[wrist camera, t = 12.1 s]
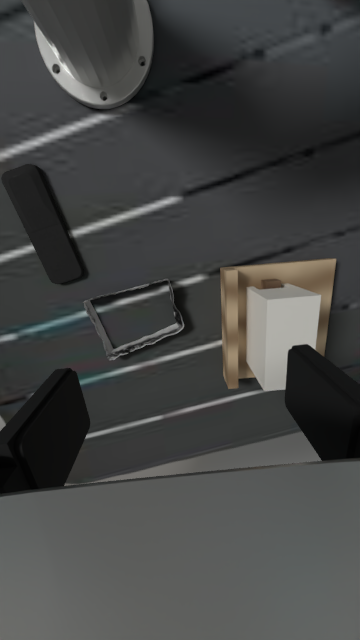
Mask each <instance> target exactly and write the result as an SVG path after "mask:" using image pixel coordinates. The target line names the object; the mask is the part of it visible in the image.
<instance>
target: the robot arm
mask: <svg viewBox="0 0 360 640" xmlns="http://www.w3.org/2000/svg"><path fill="white" fill-rule="evenodd" d="M21 1H22V3H23V4H24V6H25V7H26V9H27V11H28V12H29V14H30V15H31V17H32V18H33V20H34V27H35V34H36V40H37V43H38V47H39V50H40V53H41V56H42V58H43V60H44V62H45V65H46V67H47V68H48V70H49V71H50V73H51V75H52V76H53V78H54V79H55V80H56V82H57V83H58V84H59V86H60V87H61V88H62V89H63V90H64V91H65V92H66V93H67V94H68V95H69V96H70V97H72V98H73V99H75V100H76V101H78V102H79V103H81V104H83V105H86V106H88V107H92V108H97V109H111V108H114V107H118V106H120V105H122V104H124V103H126V102H128V101H129V100H130V99H131V98H132V97H134V96H135V95H136V94H137V93H138V91H139V90H140V89H141V87H142V86H143V84H144V82H145V80H146V78H147V76H148V74H149V71H150V67H151V64H152V59H153V51H154V32H153V24H152V17H151V13H150V9H149V4H148V2H147V0H21ZM141 65H145V66H141ZM59 72H60V73H59ZM58 73H59V74H58ZM105 98H107V100H106V101H104V99H105ZM285 404H286V407H287V409H288V411H289V412H290V414H291V415H292V417H293V418H294V420H295V421H296V423H297V424H298V426H299V427H300V429H301V430H302V432H303V433H304V435H305V436H306V437H307V439H308V440H309V442H310V443H311V445H312V446H313V448H314V449H315V451H316V452H317V454H318V455H319V457H320V458H321V460H322V461H314V462H303V463H292V464H281V465H270V466H260V467H248V468H239V469H228V470H217V471H207V472H196V473H186V474H176V475H167V476H156V477H147V478H136V479H127V480H117V481H108V482H98V483H89V484H79V485H70V486H64V484H65V482H66V480H67V478H68V475H69V473H70V471H71V469H72V466H73V464H74V462H75V460H76V457H77V455H78V453H79V450H80V448H81V446H82V444H83V441H84V439H85V437H86V435H87V432H88V430H89V427H90V418H89V415H88V411H87V408H86V404H85V401H84V397H83V394H82V390H81V387H80V383H79V380H78V376H77V373H76V372H75V371H72V369H71V368H66V369H57V370H55V371H54V372H53V373H52V374H51V375H50V376H49V378H48V379H47V380H46V381H45V382H44V383H43V384H42V385H41V386H40V388H39V389H38V390H37V391H36V392H35V393H34V394H33V395H32V397H31V398H30V399H29V400H28V401H27V402H26V403H25V404H24V405H23V407H22V408H21V409H20V410H19V411H18V412H17V413H16V414H15V416H14V417H13V418H12V419H11V420H10V421H9V422H8V423H7V424H6V426H5V427H4V428H3V429H2V430H1V431H0V640H360V385H359V384H358V383H357V382H356V381H354V380H353V379H352V378H350V377H349V376H348V375H347V374H345V373H344V372H343V371H342V370H340V369H339V368H338V367H336V366H335V365H334V364H333V363H331V362H330V361H329V360H327V359H326V358H325V357H324V356H322V355H321V354H320V353H319V352H317V351H316V350H315V349H313V348H312V347H311V346H310V345H308V344H303V345H293V346H292V349H289V350H288V358H287V374H286V390H285Z"/></svg>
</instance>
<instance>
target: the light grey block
mask: <svg viewBox="0 0 360 640" xmlns="http://www.w3.org/2000/svg"><path fill="white" fill-rule="evenodd" d="M320 301H321V295H320V294H317V293H314V292H311V291H308V290H305V289H303V288H300V287H297V286H294V285H291V284H288V283H286V284H281V288H273V289H262V290H259V289H257V288H255V287H253V286H252V287H246V362H247V363H248V365H249V367H250V368H251V370H252V372H253V373H254V375H255V377H256V378H257V380H258V382H259V383H260V385H261V386H262V388H263V390H264V391H273V390H284V389H286V374H287V358H288V350H289V349H292V346H293V345H303V344H308V345H310V346H311V347H312V348H313V349H315V348H316V339H317V329H318V320H319V311H320Z"/></svg>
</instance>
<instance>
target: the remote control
mask: <svg viewBox="0 0 360 640" xmlns="http://www.w3.org/2000/svg"><path fill="white" fill-rule="evenodd" d="M2 183H3V185H4V187H5V189H6V191H7V193H8V195H9V197H10V199H11V201H12V203H13V205H14V207H15V209H16V211H17V213H18V215H19V217H20V219H21V221H22V223H23V226H24V228H25V230H26V232H27V234H28V236H29V238H30V240H31V242H32V244H33V246H34V248H35V250H36V252H37V254H38V256H39V258H40V260H41V262H42V264H43V266H44V268H45V271H46V273H47V275H48V277H49V279H50V280H51V282H52V283H55V284H62V283H66V282H69V281H72V280H75V279H78V278H81V277H82V276H83V275H84V269H83V266H82V264H81V262H80V260H79V257H78V255H77V253H76V250H75V248H74V246H73V243H72V241H71V239H70V237H69V234H68V232H67V230H66V227H65V225H64V223H63V220H62V218H61V216H60V214H59V211H58V209H57V207H56V204H55V202H54V200H53V197H52V195H51V193H50V191H49V188H48V186H47V184H46V181H45V179H44V177H43V174H42V172H41V170H40V169H39V167H37V166H35V165H31V164H26V165H23V166H21V167H18V168H15V169H13V170H10V171H7V172H5V173H4V174H3V175H2Z"/></svg>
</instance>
